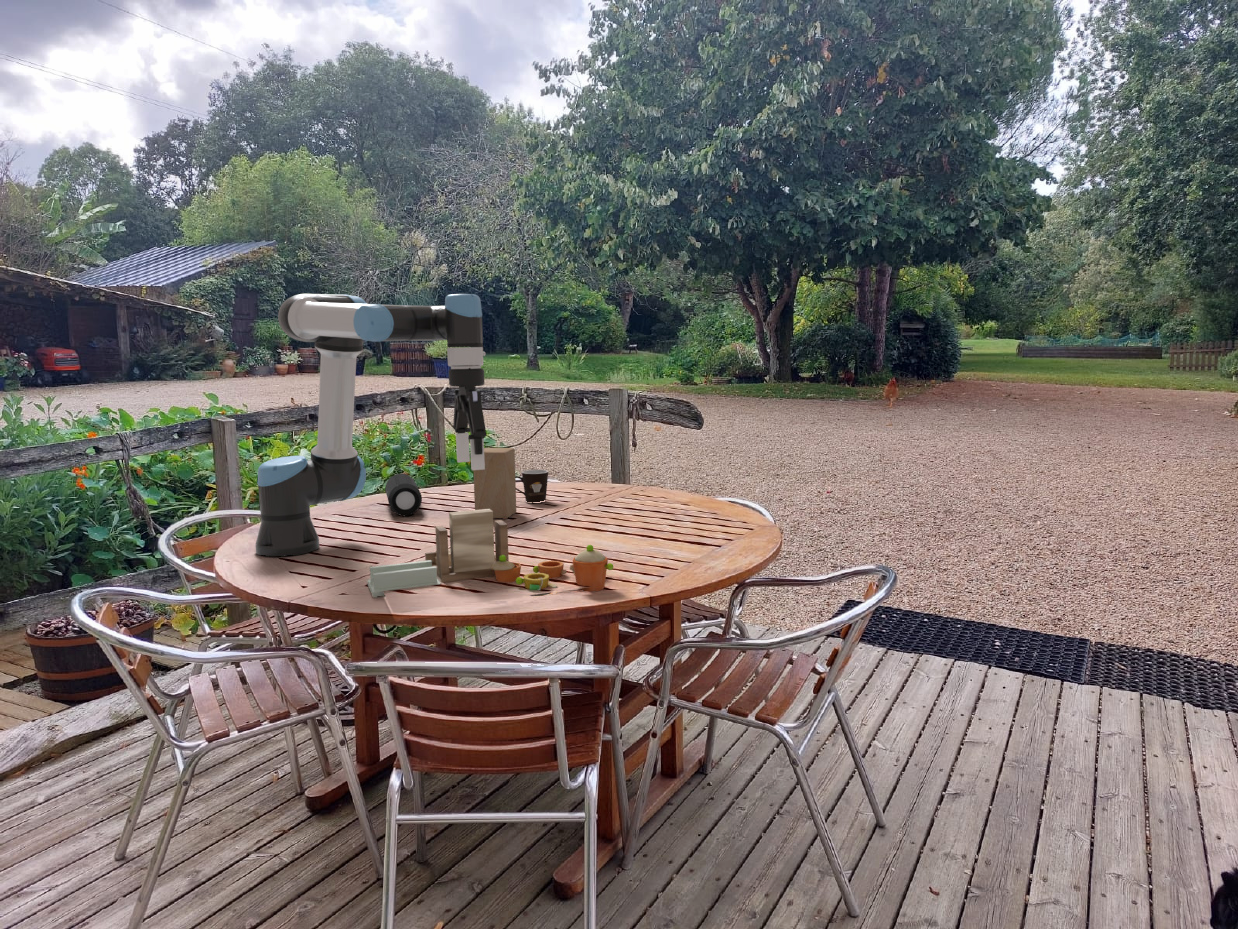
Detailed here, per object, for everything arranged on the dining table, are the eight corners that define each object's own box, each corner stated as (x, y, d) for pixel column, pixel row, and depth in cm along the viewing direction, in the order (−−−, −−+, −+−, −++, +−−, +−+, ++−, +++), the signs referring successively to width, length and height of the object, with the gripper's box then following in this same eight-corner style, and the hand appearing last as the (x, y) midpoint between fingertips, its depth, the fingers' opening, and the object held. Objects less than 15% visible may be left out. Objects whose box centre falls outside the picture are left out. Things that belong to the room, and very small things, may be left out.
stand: (367, 585, 181) (366, 565, 181) (432, 577, 187) (431, 558, 186) (373, 597, 172) (372, 577, 171) (441, 589, 178) (440, 569, 177)
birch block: (451, 574, 184) (448, 512, 182) (491, 569, 188) (489, 508, 186) (454, 578, 181) (451, 515, 179) (495, 573, 185) (492, 511, 183)
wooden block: (516, 512, 256) (515, 447, 253) (506, 519, 246) (504, 452, 243) (485, 511, 258) (483, 447, 255) (474, 518, 248) (472, 451, 245)
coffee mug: (552, 499, 275) (551, 470, 274) (544, 504, 267) (543, 474, 266) (519, 498, 278) (518, 469, 277) (510, 503, 270) (509, 473, 268)
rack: (425, 567, 194) (423, 516, 193) (492, 560, 200) (491, 510, 199) (440, 587, 178) (437, 532, 177) (512, 578, 185) (511, 525, 183)
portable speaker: (385, 503, 273) (384, 473, 272) (416, 501, 276) (415, 471, 275) (389, 519, 249) (387, 486, 248) (423, 516, 252) (421, 483, 251)
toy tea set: (603, 572, 190) (603, 530, 189) (621, 591, 176) (621, 547, 174) (488, 581, 184) (487, 539, 182) (497, 603, 169) (495, 556, 168)
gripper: (498, 368, 169) (502, 471, 172) (469, 366, 192) (473, 457, 195) (461, 369, 166) (466, 474, 169) (437, 367, 189) (441, 460, 192)
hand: (470, 465), depth 182 cm, fingers open, 13 cm apart
